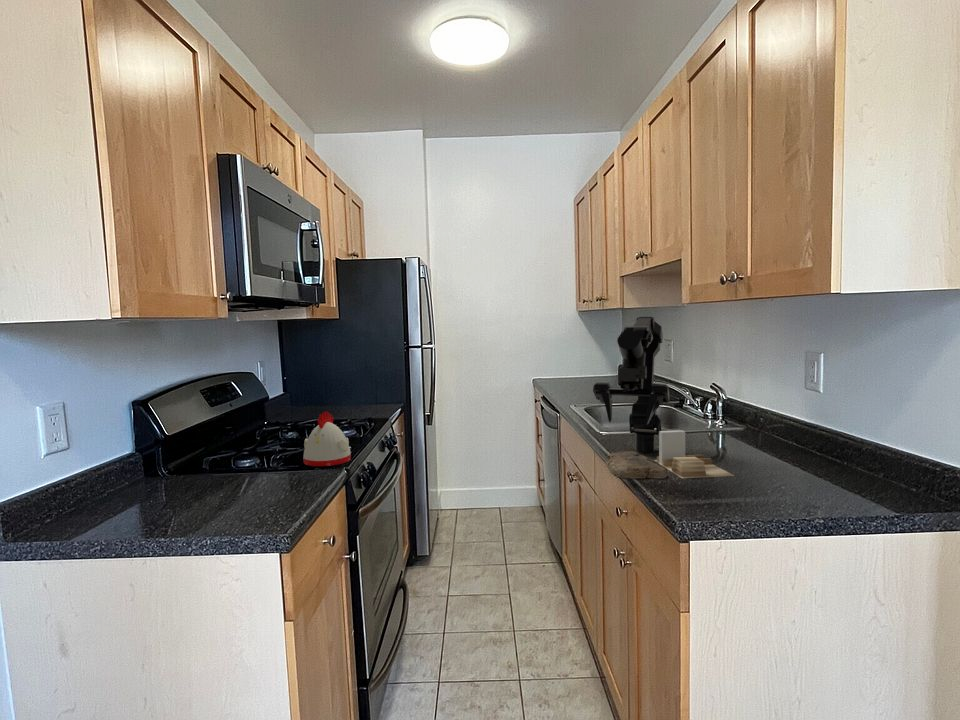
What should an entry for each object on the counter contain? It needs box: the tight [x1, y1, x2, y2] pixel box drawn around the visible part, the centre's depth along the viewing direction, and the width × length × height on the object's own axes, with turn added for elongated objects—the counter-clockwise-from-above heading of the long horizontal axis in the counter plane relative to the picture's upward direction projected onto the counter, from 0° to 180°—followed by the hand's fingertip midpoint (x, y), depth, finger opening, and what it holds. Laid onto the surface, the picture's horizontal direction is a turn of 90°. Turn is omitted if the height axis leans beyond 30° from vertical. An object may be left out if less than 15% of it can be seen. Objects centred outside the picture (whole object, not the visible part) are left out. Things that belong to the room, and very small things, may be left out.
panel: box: [658, 429, 686, 466], centre depth 152 cm, size 2×7×9 cm, turn 94°
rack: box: [653, 454, 735, 479], centre depth 147 cm, size 18×14×2 cm
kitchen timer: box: [303, 411, 352, 467], centre depth 166 cm, size 14×14×15 cm
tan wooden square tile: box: [672, 466, 706, 478], centre depth 142 cm, size 6×6×1 cm
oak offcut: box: [672, 462, 705, 472], centre depth 142 cm, size 6×6×1 cm
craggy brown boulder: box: [605, 450, 668, 479], centre depth 148 cm, size 14×5×20 cm
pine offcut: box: [673, 457, 704, 467], centre depth 142 cm, size 5×6×1 cm
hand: (627, 422), depth 138 cm, fingers open, 9 cm apart
